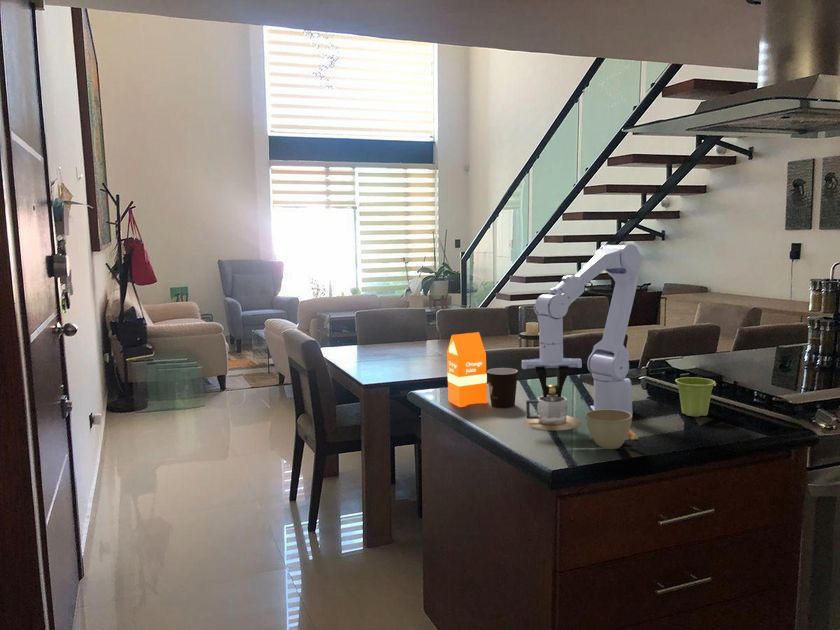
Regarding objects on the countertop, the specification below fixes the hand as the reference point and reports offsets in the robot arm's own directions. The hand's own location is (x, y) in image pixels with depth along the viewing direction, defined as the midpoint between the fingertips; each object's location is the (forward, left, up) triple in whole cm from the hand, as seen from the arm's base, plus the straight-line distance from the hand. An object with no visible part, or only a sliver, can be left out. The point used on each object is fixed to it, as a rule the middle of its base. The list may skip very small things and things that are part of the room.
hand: (551, 396), depth 164 cm
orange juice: (+21, -23, -7) cm, 32 cm away
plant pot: (-37, -6, -7) cm, 38 cm away
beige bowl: (-10, +18, -7) cm, 22 cm away
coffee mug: (+11, -19, -7) cm, 23 cm away
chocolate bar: (-16, +9, -8) cm, 20 cm away
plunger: (0, 0, -4) cm, 4 cm away
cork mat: (0, 0, -7) cm, 7 cm away
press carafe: (+1, 0, -7) cm, 7 cm away
